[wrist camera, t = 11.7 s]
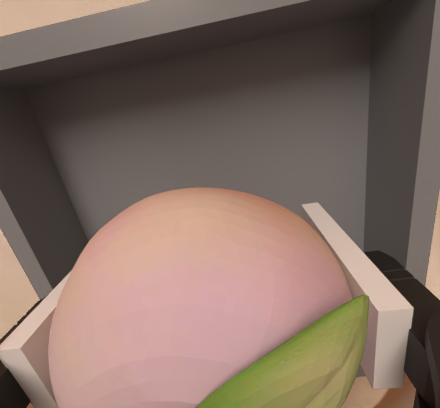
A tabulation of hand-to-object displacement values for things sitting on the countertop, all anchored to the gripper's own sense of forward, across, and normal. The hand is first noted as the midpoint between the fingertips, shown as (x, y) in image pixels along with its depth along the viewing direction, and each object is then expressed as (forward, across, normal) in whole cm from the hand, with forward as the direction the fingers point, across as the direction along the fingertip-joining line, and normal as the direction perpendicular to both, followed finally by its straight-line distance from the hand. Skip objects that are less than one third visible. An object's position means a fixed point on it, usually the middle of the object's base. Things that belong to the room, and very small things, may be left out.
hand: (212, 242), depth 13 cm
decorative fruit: (+1, 0, 0) cm, 1 cm away
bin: (+4, 0, 0) cm, 4 cm away
